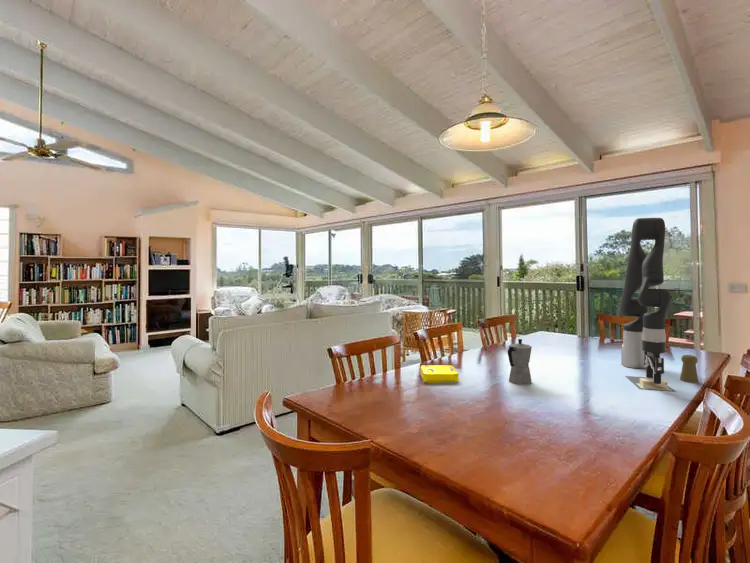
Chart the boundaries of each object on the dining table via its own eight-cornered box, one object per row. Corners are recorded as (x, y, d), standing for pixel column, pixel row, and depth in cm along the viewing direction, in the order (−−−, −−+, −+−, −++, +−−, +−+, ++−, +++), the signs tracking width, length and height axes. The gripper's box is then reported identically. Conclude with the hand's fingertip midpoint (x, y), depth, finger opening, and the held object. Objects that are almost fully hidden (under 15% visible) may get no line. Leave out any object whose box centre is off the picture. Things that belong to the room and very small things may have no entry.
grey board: (624, 376, 169) (624, 375, 169) (657, 378, 166) (657, 377, 166) (639, 390, 151) (639, 388, 151) (676, 393, 147) (676, 391, 147)
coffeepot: (518, 376, 172) (518, 335, 171) (538, 381, 164) (538, 338, 164) (498, 383, 162) (498, 340, 161) (519, 388, 155) (519, 343, 154)
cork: (691, 379, 164) (692, 353, 164) (702, 383, 158) (702, 357, 158) (676, 379, 164) (676, 353, 164) (686, 383, 158) (686, 356, 158)
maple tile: (663, 385, 154) (663, 379, 154) (667, 389, 150) (667, 382, 150) (639, 384, 157) (639, 377, 157) (643, 387, 153) (643, 380, 152)
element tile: (459, 383, 163) (459, 372, 163) (423, 384, 163) (423, 372, 163) (452, 374, 178) (452, 364, 178) (420, 374, 178) (419, 364, 178)
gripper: (636, 336, 161) (636, 375, 161) (648, 342, 147) (648, 384, 148) (658, 337, 158) (657, 376, 159) (672, 343, 145) (671, 386, 145)
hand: (653, 380), depth 153 cm, fingers open, 8 cm apart
